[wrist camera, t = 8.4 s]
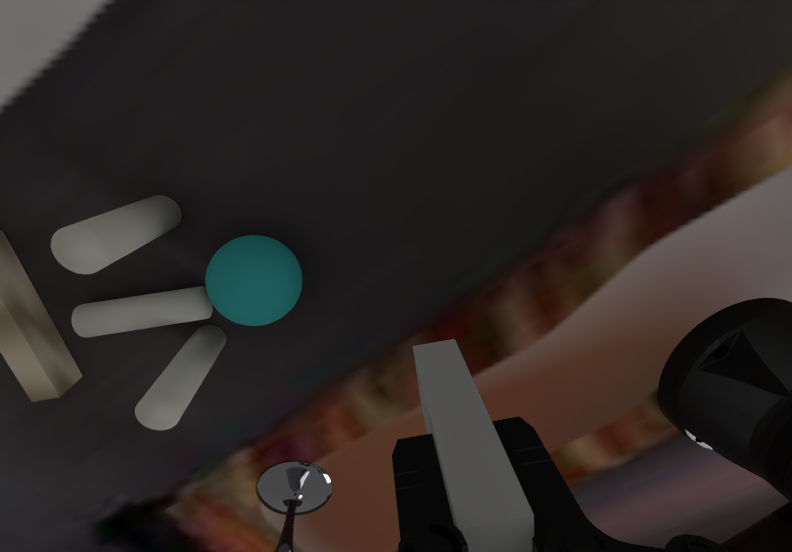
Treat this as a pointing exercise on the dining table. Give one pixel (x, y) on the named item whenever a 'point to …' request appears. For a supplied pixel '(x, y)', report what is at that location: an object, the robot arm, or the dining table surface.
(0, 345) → the backstop
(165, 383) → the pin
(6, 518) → the dining table surface
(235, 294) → the ball
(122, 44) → the dining table surface
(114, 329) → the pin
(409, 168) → the dining table surface
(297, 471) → the wine glass
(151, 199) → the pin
